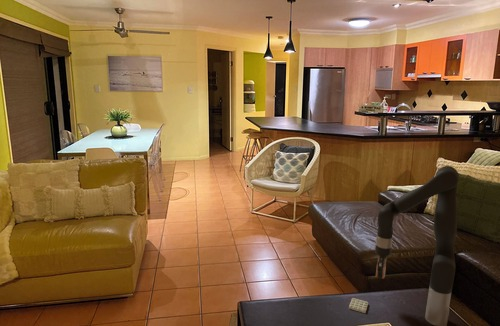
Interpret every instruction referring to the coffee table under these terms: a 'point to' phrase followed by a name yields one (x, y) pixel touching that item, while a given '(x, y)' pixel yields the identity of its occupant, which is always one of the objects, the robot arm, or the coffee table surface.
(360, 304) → the stud plate
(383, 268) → the brick stack
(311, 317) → the coffee table surface
